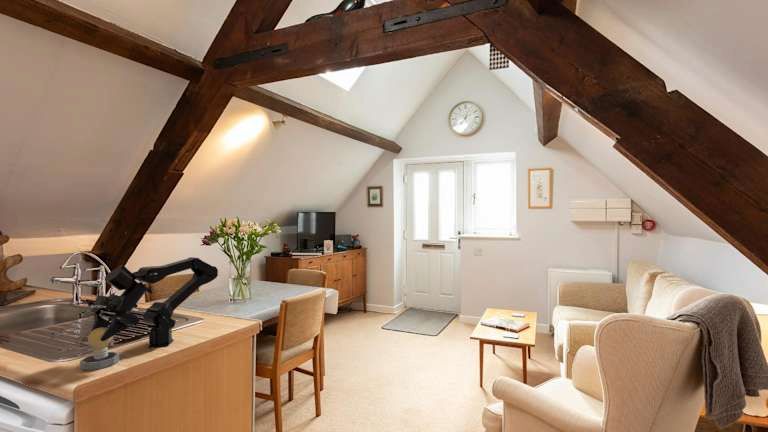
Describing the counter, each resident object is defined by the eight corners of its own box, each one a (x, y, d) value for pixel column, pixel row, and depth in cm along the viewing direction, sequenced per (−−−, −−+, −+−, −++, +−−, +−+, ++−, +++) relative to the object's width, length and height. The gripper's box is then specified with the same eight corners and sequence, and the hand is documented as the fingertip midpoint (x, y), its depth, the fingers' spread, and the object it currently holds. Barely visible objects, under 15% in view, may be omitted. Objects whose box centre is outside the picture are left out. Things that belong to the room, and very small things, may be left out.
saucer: (123, 357, 129) (123, 350, 129) (109, 368, 120) (109, 361, 120) (91, 360, 127) (91, 353, 127) (74, 371, 118) (74, 364, 118)
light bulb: (114, 353, 128) (113, 323, 128) (111, 359, 123) (110, 328, 122) (90, 357, 125) (89, 327, 125) (86, 363, 119) (85, 332, 119)
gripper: (95, 283, 131) (58, 323, 121) (128, 286, 123) (91, 330, 113) (120, 300, 138) (87, 340, 128) (153, 305, 130) (120, 347, 120)
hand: (95, 339), depth 122 cm, fingers closed on light bulb, 6 cm apart
